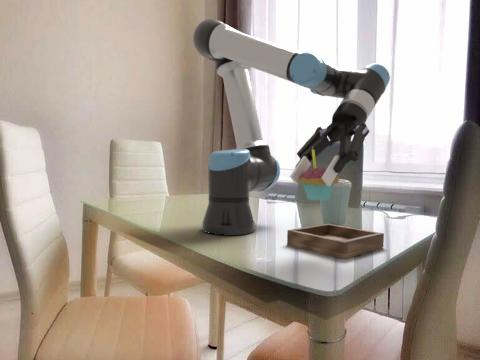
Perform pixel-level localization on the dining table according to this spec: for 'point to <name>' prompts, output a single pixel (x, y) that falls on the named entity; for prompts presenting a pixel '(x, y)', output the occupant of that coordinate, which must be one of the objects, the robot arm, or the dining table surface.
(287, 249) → the dining table surface
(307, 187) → the cupcake
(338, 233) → the wooden tray
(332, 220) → the disposable coffee cup
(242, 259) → the dining table surface
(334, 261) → the dining table surface
